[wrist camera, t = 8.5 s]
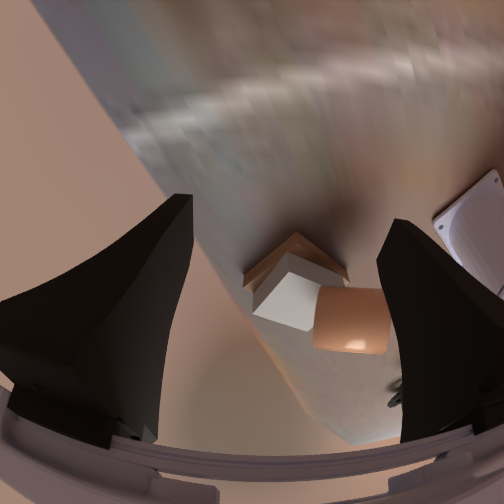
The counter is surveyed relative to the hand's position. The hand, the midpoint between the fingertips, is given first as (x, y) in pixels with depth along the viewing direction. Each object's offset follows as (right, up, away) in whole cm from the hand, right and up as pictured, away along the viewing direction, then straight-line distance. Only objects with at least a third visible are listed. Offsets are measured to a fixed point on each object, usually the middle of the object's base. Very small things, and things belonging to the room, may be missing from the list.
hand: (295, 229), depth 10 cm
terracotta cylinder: (+3, -5, +10) cm, 12 cm away
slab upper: (+2, -4, +15) cm, 15 cm away
